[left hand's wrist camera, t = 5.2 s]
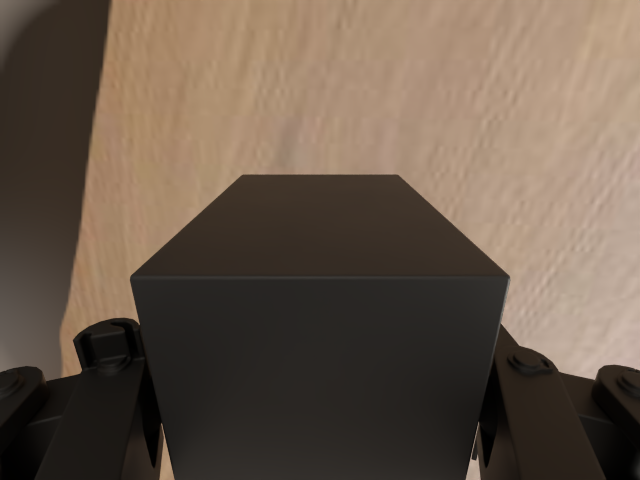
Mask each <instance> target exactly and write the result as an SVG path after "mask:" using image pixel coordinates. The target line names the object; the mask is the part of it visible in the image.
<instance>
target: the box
mask: <svg viewBox="0 0 640 480" xmlns="http://www.w3.org/2000/svg"><path fill="white" fill-rule="evenodd" d="M130 283H131V287H132V291H133V296H134V300H135V305H136V309H137V314H138V318H139V323H140V327H141V332H142V336H143V340H144V345H145V349H146V354H147V358H148V363H149V367H150V372H151V376H152V381H153V385H154V390H155V394H156V398H157V403H158V407H159V412H160V416H161V421H162V425H163V430H164V434H165V439H166V443H167V447H168V452H169V456H170V461H171V465H172V470H173V474H174V479H175V480H466V475H467V471H468V466H469V462H470V458H471V453H472V449H473V444H474V440H475V435H476V431H477V426H478V422H479V417H480V413H481V409H482V404H483V400H484V395H485V391H486V386H487V382H488V377H489V373H490V369H491V364H492V360H493V355H494V351H495V346H496V342H497V337H498V333H499V329H500V324H501V320H502V315H503V311H504V306H505V302H506V297H507V293H508V289H509V284H510V276H509V275H508V274H507V273H506V272H505V271H504V270H502V269H501V268H500V267H499V266H498V265H497V264H496V263H495V262H494V261H492V260H491V259H490V258H489V257H488V256H487V255H486V254H485V253H484V252H483V251H481V250H480V249H479V248H478V247H477V246H476V245H475V244H474V243H473V242H472V241H470V240H469V239H468V238H467V237H466V236H465V235H464V234H463V233H462V232H461V231H459V230H458V229H457V228H456V227H455V226H454V225H453V224H452V223H451V222H449V221H448V220H447V219H446V218H445V217H444V216H443V215H442V214H441V213H440V212H438V211H437V210H436V209H435V208H434V207H433V206H432V205H431V204H430V203H429V202H427V201H426V200H425V199H424V198H423V197H422V196H421V195H420V194H419V193H418V192H416V191H415V190H414V189H413V188H412V187H411V186H410V185H409V184H408V183H406V182H405V181H404V180H403V179H402V178H401V177H400V176H399V175H242V176H240V177H239V178H238V179H237V180H236V181H235V182H234V183H233V184H232V185H230V186H229V187H228V188H227V189H226V190H225V191H224V192H223V193H222V194H221V195H219V196H218V197H217V198H216V199H215V200H214V201H213V202H212V203H211V204H210V205H208V206H207V207H206V208H205V209H204V210H203V211H202V212H201V213H200V214H198V215H197V216H196V217H195V218H194V219H193V220H192V221H191V222H190V223H189V224H187V225H186V226H185V227H184V228H183V229H182V230H181V231H180V232H179V233H178V234H176V235H175V236H174V237H173V238H172V239H171V240H170V241H169V242H168V243H166V244H165V245H164V246H163V247H162V248H161V249H160V250H159V251H158V252H157V253H155V254H154V255H153V256H152V257H151V258H150V259H149V260H148V261H147V262H146V263H144V264H143V265H142V266H141V267H140V268H139V269H138V270H137V271H136V272H134V273H133V274H132V275H131V277H130Z"/></svg>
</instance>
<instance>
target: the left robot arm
mask: <svg viewBox="0 0 640 480" xmlns="http://www.w3.org/2000/svg"><path fill="white" fill-rule="evenodd" d="M73 342H74V346H75V349H76V352H77V355H78V358H79V362H80V365H81V368H82V372H81V374H77V375H73V376H69V377H64V378H60V379H55V380H50V381H46V380H45V378H44V375H43V372H42V371H41V370H40V369H38V368H37V367H29V366H25V367H18V368H13V369H9V370H7V371H3V372H0V480H159V478H160V469H161V459H162V450H163V440H164V436H163V430H162V426H161V423H162V421H161V416H160V412H159V407H158V403H157V398H156V394H155V390H154V385H153V381H152V376H151V372H150V367H149V363H148V358H147V354H146V349H145V345H144V340H143V336H142V332H141V327H140V325H139V324H138V323H137V322H136V321H135V320H133V319H129V318H113V319H109V320H105V321H101V322H98V323H96V324H94V325H91V326H89V327H87V328H86V329H84V330H83V331H81V332H80V333H79V334H78V335H77V336H76V337H75V338H74V339H73ZM477 455H478V458H479V468H480V477H481V480H640V370H637V369H634V368H630V367H626V366H619V365H606V366H603V367H602V368H600V369H599V370H598V373H597V376H596V379H595V380H593V379H588V378H583V377H579V376H574V375H569V374H565V373H561V372H559V371H558V369H557V368H556V366H555V365H554V364H553V362H552V361H550V360H549V359H548V358H546V357H545V356H544V355H542V354H540V353H538V352H536V351H534V350H532V349H529V348H525V347H521V346H519V345H518V344H517V342H516V341H515V340H514V339H513V338H512V336H511V335H510V334H509V333H508V332H507V330H506V329H505V328H504V327H503V325H502V324H500V329H499V333H498V337H497V342H496V346H495V351H494V355H493V360H492V364H491V369H490V373H489V377H488V382H487V386H486V391H485V395H484V400H483V404H482V409H481V413H480V417H479V426H478V430H477V435H476V439H475V443H474V448H473V452H472V460H476V459H477Z"/></svg>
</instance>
